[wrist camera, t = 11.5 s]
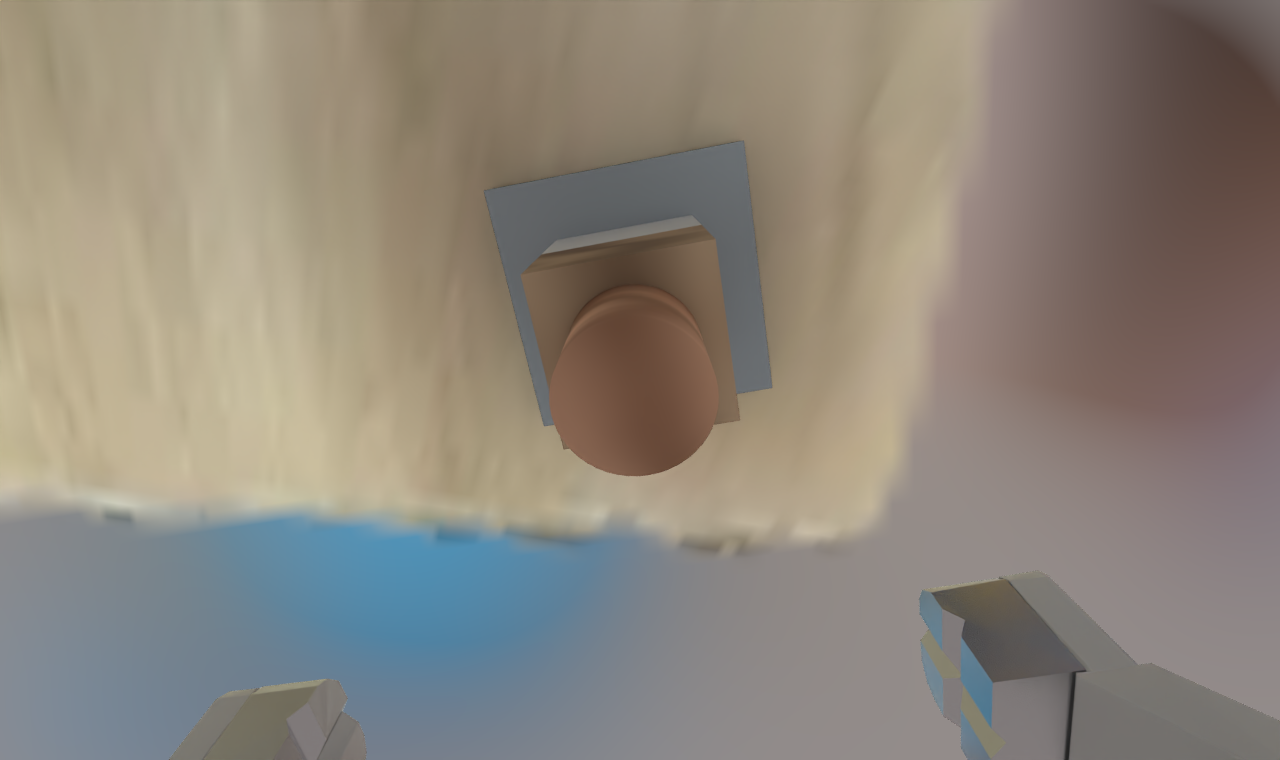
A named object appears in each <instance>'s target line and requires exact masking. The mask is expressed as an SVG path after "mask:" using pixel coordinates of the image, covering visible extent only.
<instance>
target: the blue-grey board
mask: <svg viewBox="0 0 1280 760" xmlns="http://www.w3.org/2000/svg"><path fill="white" fill-rule="evenodd" d="M484 194H485V198H486V202H487V206H488V210H489V213H490V217H491V221H492V225H493V229H494V233H495V237H496V241H497V245H498V249H499V252H500V256H501V260H502V264H503V268H504V272H505V276H506V280H507V284H508V288H509V292H510V295H511V299H512V303H513V307H514V311H515V315H516V319H517V323H518V327H519V331H520V334H521V338H522V342H523V346H524V350H525V354H526V358H527V362H528V366H529V370H530V373H531V377H532V381H533V385H534V389H535V393H536V397H537V401H538V405H539V409H540V412H541V416H542V420H543V424H544V426H549V425H554V422H553V419H552V416H551V411H550V405H549V388H548V384H547V380H546V376H545V372H544V368H543V364H542V360H541V356H540V352H539V348H538V344H537V340H536V336H535V332H534V328H533V324H532V319H531V315H530V311H529V307H528V303H527V299H526V295H525V291H524V287H523V283H522V279H521V274H522V273H523V272H524V271H525V270H526V269H527V268H528V267H529V266H530V265H531V264H532V263H533V262H534V261H535V260H536V259H537V258H538V257H539V256H540V255H541V254H542V253H543V252H544V251H545V250H547V249H548V248H549V247H550V246H551V245H552V244H553V243H554V242H555V241H556V240H560V239H565V238H571V237H576V236H581V235H587V234H592V233H597V232H603V231H608V230H614V229H619V228H624V227H630V226H635V225H640V224H646V223H651V222H657V221H662V220H667V219H673V218H678V217H683V216H689V215H692V216H693V217H694V218H695V219H696V220H697V221H698V222H699V223H700V224H701V225H702V226H703V227H704V228H705V229H706V230H707V231H708V232H709V233H710V234H711V235H712V236H713V237H714V238H715V239H716V247H717V254H718V261H719V269H720V276H721V283H722V291H723V298H724V305H725V313H726V320H727V327H728V335H729V342H730V349H731V357H732V364H733V371H734V379H735V386H736V393H737V394H739V393H745V392H751V391H757V390H763V389H769V388H772V381H771V372H770V364H769V355H768V346H767V338H766V329H765V320H764V312H763V303H762V294H761V285H760V277H759V268H758V259H757V251H756V242H755V233H754V224H753V216H752V207H751V198H750V190H749V181H748V172H747V163H746V155H745V146H744V141H739V142H734V143H728V144H723V145H718V146H713V147H708V148H702V149H697V150H692V151H687V152H682V153H676V154H671V155H666V156H661V157H656V158H650V159H645V160H640V161H635V162H630V163H624V164H619V165H614V166H609V167H604V168H598V169H593V170H588V171H583V172H578V173H572V174H567V175H562V176H557V177H552V178H547V179H541V180H536V181H531V182H526V183H521V184H515V185H510V186H505V187H500V188H495V189H489V190H484Z"/></svg>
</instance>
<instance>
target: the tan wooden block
mask: <svg viewBox="0 0 1280 760" xmlns="http://www.w3.org/2000/svg"><path fill="white" fill-rule="evenodd" d="M521 279H522V283H523V287H524V291H525V295H526V299H527V303H528V307H529V311H530V315H531V319H532V324H533V328H534V332H535V336H536V340H537V344H538V348H539V352H540V356H541V360H542V364H543V368H544V372H545V376H546V380H547V384H548V388H549V390H550V383H551V379H552V375H553V372H554V369H555V367H556V364H557V362H558V359H559V357H560V354H561V352H562V349H563V347H564V344H565V342H566V339H567V337H568V335H569V332H570V330H571V327H572V325H573V322H574V320H575V318H576V317H577V315H578V313H579V312H580V311H581V309H582V308H583V307H584V306H585V305H586V304H587V303H588V302H589V301H590V300H591V299H593V298H594V297H595V296H597V295H598V294H600V293H602V292H604V291H606V290H608V289H611V288H613V287H617V286H621V285H628V284H642V285H649V286H653V287H656V288H659V289H661V290H664V291H666V292H668V293H670V294H671V295H673V296H675V297H676V298H677V299H678V300H680V301H681V302H682V303H683V304H684V305H685V306H686V307H687V308H688V310H689V311H690V313H691V314H692V315H693V317H694V319H695V321H696V323H697V325H698V328H699V331H700V333H701V336H702V339H703V342H704V345H705V347H706V350H707V353H708V356H709V358H710V361H711V364H712V367H713V370H714V372H715V375H716V379H717V384H718V391H719V404H718V411H717V416H716V419H715V422H714V424H720V423H726V422H732V421H738V420H740V415H739V408H738V401H737V393H736V386H735V379H734V371H733V364H732V357H731V349H730V342H729V335H728V327H727V320H726V313H725V305H724V298H723V291H722V283H721V276H720V269H719V261H718V254H717V247H716V239H715V238H714V237H713V236H712V235H711V234H710V233H709V232H708V231H707V230H706V229H705V228H704V227H703V226H702V225H698V226H692V227H687V228H681V229H676V230H671V231H665V232H660V233H654V234H649V235H644V236H638V237H633V238H627V239H622V240H617V241H611V242H606V243H600V244H595V245H590V246H584V247H579V248H573V249H568V250H563V251H557V252H552V253H546V254H541V255H540V256H539V257H538V258H537V259H536V260H535V261H534V262H533V263H532V264H531V265H530V266H529V267H528V268H527V269H526V270H525V271H524V272H523V273H522V274H521ZM560 437H561V436H560ZM561 441H562V445H563V449H569V447H568V446H567V445H566V444H565V442H564V441H563V439H562V438H561Z"/></svg>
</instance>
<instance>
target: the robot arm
mask: <svg viewBox="0 0 1280 760" xmlns="http://www.w3.org/2000/svg"><path fill="white" fill-rule="evenodd" d="M919 600H920V615H921V617H922V618H923V620H924V622H925V623H926V625H927V626H928V628H929V630H928V631H927V632H926V634H925V635H924V636H923V638H922V639H921V655H922V663H923V667H924V671H925V675H926V679H927V683H928V685H929V687H930V690H931V692H932V695H933V697H934V699H935V701H936V703H937V705H938V707H939V709H940V711H941V713H942V714H943V716H944V717H945V718H947V719H948V720H950V721H951V722H953V723H954V724H956V725H958V726H959V727H960V728H961V749H962V750H963V752H964V754H965V756H966V758H967V760H1280V721H1279V720H1277V719H1275V718H1273V717H1270V716H1268V715H1266V714H1264V713H1262V712H1259V711H1257V710H1255V709H1253V708H1250V707H1248V706H1246V705H1244V704H1241V703H1239V702H1237V701H1235V700H1233V699H1230V698H1228V697H1226V696H1223V695H1221V694H1219V693H1217V692H1215V691H1212V690H1210V689H1208V688H1206V687H1204V686H1201V685H1199V684H1197V683H1195V682H1192V681H1190V680H1188V679H1186V678H1183V677H1181V676H1179V675H1176V674H1174V673H1172V672H1170V671H1168V670H1166V669H1163V668H1161V667H1159V666H1156V665H1155V664H1152V663H1149V664H1141V665H1138V664H1137V663H1136V662H1135V661H1134V660H1133V659H1132V658H1131V657H1130V656H1129V655H1128V654H1127V653H1126V652H1125V651H1124V650H1123V649H1122V648H1121V647H1120V646H1119V645H1118V644H1117V643H1116V642H1115V641H1114V640H1113V639H1112V638H1110V636H1109V635H1108V634H1107V633H1106V632H1104V630H1103V629H1101V627H1099V626H1098V624H1096V622H1095V621H1094V620H1092V618H1091V617H1089V615H1088V614H1086V612H1084V611H1083V609H1081V608H1080V607H1079V606H1078V605H1077V604H1076V603H1075V602H1074V601H1073V600H1072V599H1071V598H1070V597H1069V596H1068V595H1067V594H1066V593H1065V592H1064V591H1063V590H1062V589H1061V588H1060V587H1059V586H1058V585H1057V584H1056V583H1055V582H1054V581H1053V580H1052V579H1051V578H1050V577H1049V576H1048V575H1047V574H1045V573H1043V572H1040V571H1032V572H1026V573H1021V574H1015V575H1009V576H1003V577H999V578H998V579H996V578H994V579H987V580H981V581H974V582H968V583H962V584H956V585H949V586H943V587H936V588H930V589H924V590H922V592H921V595H920V599H919ZM347 699H348V698H347V696H346V694H345V692H344V690H343V688H342V686H341V684H340V682H339V681H338V680H332V679H322V680H314V681H306V682H298V683H290V684H281V685H274V686H266V687H262V688H256V689H247V690H239V691H230V692H228V693H226V694H225V695H223V696H221V697H219V698H218V699H216V700H215V701H214V703H213V704H212V705H211V707H210V708H209V709H208V710H207V712H206V713H205V714H204V715H203V717H202V718H201V719H200V720H199V722H198V723H197V724H196V725H195V727H194V728H193V729H192V731H191V732H190V733H189V734H188V736H187V737H186V738H185V740H184V741H183V742H182V743H181V745H180V746H179V747H178V748H177V750H176V751H175V752H174V754H173V755H172V756H171V757H170V759H169V760H365V759H366V753H367V752H366V744H365V738H364V733H363V731H362V729H361V726H360V724H359V722H358V721H356V720H355V719H353V718H352V717H350V716H349V715H347V714H346V713H344V712H343V709H344V707H345V704H346V701H347Z"/></svg>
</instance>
